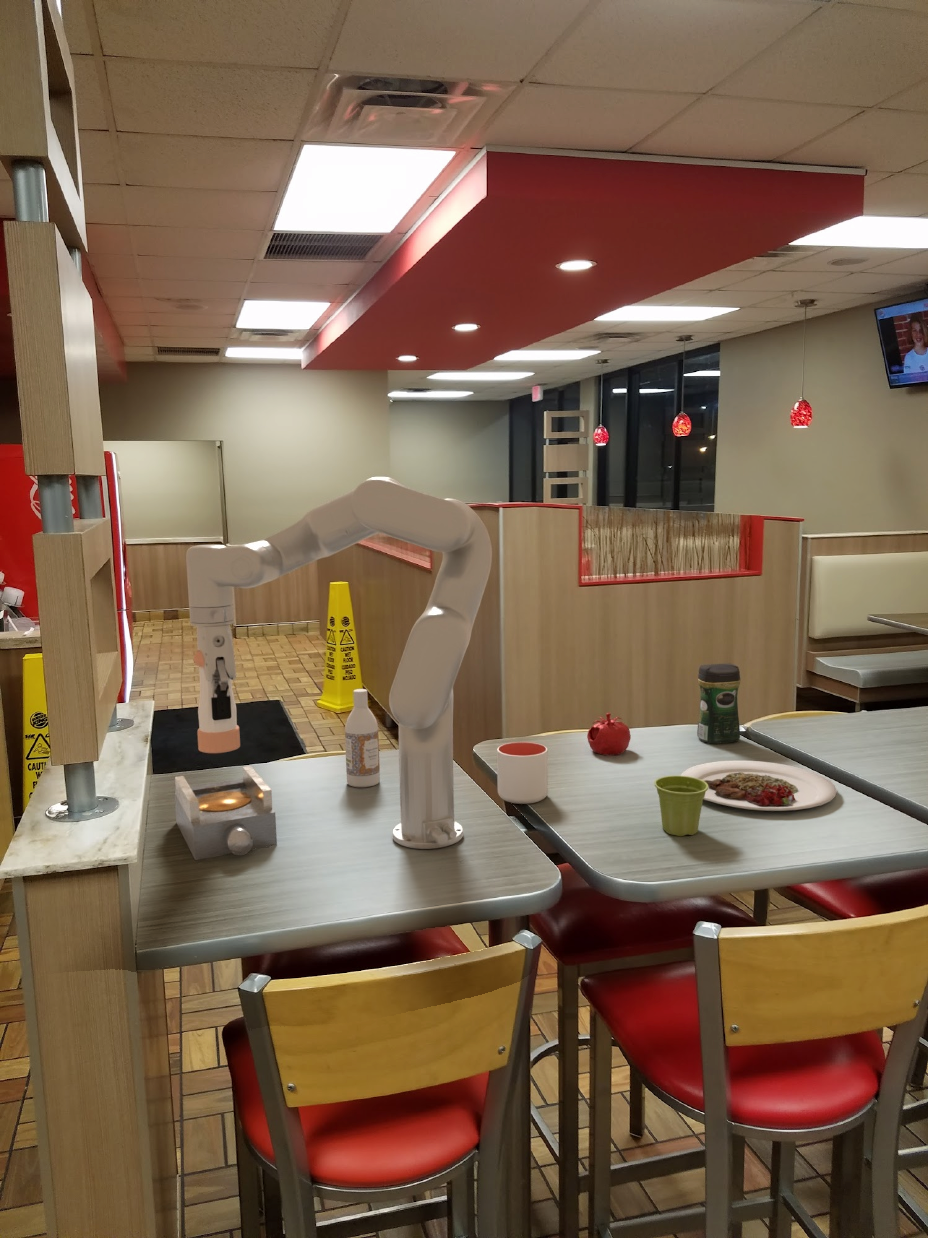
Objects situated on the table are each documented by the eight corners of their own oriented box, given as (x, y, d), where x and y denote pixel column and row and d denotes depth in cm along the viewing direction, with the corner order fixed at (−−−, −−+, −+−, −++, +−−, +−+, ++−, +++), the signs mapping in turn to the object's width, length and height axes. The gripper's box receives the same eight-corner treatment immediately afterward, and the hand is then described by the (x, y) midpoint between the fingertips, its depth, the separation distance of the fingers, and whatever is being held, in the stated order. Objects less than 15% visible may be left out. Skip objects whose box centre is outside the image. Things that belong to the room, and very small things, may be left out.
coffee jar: (728, 734, 227) (730, 659, 225) (744, 743, 220) (746, 666, 217) (691, 737, 226) (693, 662, 223) (706, 746, 218) (707, 668, 215)
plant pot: (713, 826, 168) (714, 780, 166) (698, 844, 160) (699, 795, 158) (663, 817, 172) (664, 772, 171) (646, 834, 164) (646, 787, 163)
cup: (517, 786, 192) (516, 739, 191) (557, 795, 186) (557, 747, 184) (487, 799, 184) (486, 750, 183) (528, 809, 178) (528, 759, 177)
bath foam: (360, 790, 191) (357, 695, 188) (340, 783, 196) (336, 690, 193) (386, 782, 196) (383, 690, 193) (366, 775, 201) (363, 685, 198)
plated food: (744, 760, 207) (744, 746, 207) (867, 796, 183) (868, 779, 182) (648, 787, 190) (648, 771, 190) (770, 830, 166) (770, 812, 165)
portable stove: (282, 853, 159) (280, 799, 158) (199, 869, 153) (195, 814, 152) (250, 810, 181) (248, 763, 179) (176, 822, 175) (173, 774, 173)
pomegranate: (633, 747, 218) (633, 708, 217) (627, 759, 209) (627, 719, 208) (591, 744, 221) (591, 706, 220) (583, 756, 212) (583, 716, 211)
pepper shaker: (208, 756, 161) (202, 647, 158) (191, 747, 167) (185, 642, 164) (247, 747, 166) (241, 642, 163) (229, 739, 171) (223, 637, 169)
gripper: (244, 619, 157) (249, 722, 159) (223, 608, 172) (228, 702, 175) (199, 623, 153) (205, 728, 156) (181, 611, 169) (187, 707, 172)
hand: (217, 713), depth 165 cm, fingers closed on pepper shaker, 6 cm apart
